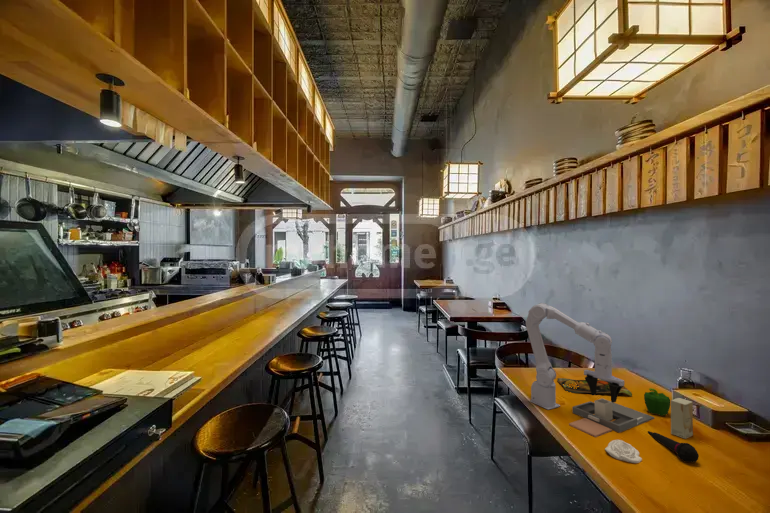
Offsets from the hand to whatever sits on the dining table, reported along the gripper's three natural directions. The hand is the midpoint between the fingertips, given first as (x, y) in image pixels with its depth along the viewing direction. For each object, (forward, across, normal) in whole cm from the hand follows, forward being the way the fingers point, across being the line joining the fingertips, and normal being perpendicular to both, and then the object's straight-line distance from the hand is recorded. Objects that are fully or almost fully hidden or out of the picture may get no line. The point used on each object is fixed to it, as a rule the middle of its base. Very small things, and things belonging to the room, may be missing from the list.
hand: (603, 398), depth 133 cm
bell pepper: (+8, -7, -25) cm, 27 cm away
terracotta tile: (+8, -2, +12) cm, 15 cm away
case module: (+8, 0, 0) cm, 8 cm away
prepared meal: (+9, +22, -28) cm, 37 cm away
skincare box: (+8, -20, -13) cm, 25 cm away
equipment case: (+8, 0, -6) cm, 10 cm away
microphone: (+9, -23, +1) cm, 24 cm away
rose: (+9, -18, +20) cm, 28 cm away
